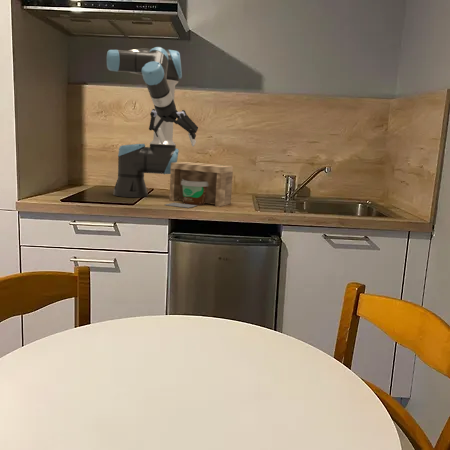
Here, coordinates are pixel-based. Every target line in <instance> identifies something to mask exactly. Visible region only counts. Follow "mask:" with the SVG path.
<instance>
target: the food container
mask: <svg viewBox="0 0 450 450" xmlns="http://www.w3.org/2000/svg"><path fill="white" fill-rule="evenodd" d="M181 185H182V186H183V200H182V201H183V203H182V204H184V203H185V204H190V205H197V206H204V205H205V204H206V203H205V197H206V190H207V186H208V181H207V182H196V181H185V180H184V179H182V182H181ZM203 204H204V205H203Z"/></svg>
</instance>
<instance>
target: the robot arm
mask: <svg viewBox="0 0 450 450" xmlns="http://www.w3.org/2000/svg"><path fill="white" fill-rule="evenodd" d="M106 69H107V70H108V71H110V72H117V73H118V72H120V73H121V72H122V73H130V74H135V75H138V76H139V75H140V76H142V79H143V81H144V83H145V86H146V88H147V91H148V93H149V95H150V98H151V101H152V104H153V106H154V108H152V110H151V111H150V112H149V114H150V122H149V127H148V130H149V131H153V138H152V140H151V141H150V143H149V146H146V145H145V143H134V144H133V143H132V144H125V145H124V144H122V145H120V146H119V148H118V153H117V157H118V158H117V159H118V161H117V166H118V167H117V180H116V182H115V185H114V188H113V196H116V197H122V198H145V197H148V189H147V184H146V181H145V174H155V175H156V174H159V175H160V174H161V175H170V174H171V163H175V162H178V158H179V152H180V150H179V148H177V145H176V143H175V142H174V141H173V138H174V124H175V125H178V126H180V127H181V128H182V129H184V131H186V132H187V133H188V134H187V135H188V138H189V140H190V141H189V142H190V143H191V146H192V147H195V146H196V145H195V144H197V140H196V137H197V135H196V134H197V132H198V129H199V127H198V125H196V123H195V122H194V121H193V120H192V118H190V116H188V114H187V113H186V111H185V109H183V110H181V111H178V110H177V107H176V103H175V93H176V91H175V90H176V89H175V88H176V85H177V84H179V79H182V78H183V73H182V71H183V70H182V61H181V53H180V52H179V50H173V49H165V48H163V47H161V46H155V47H153V48H147V47H145V48H142V47H141V48H135V49H129V50H125V49H124V50H122V49H108V51H107V53H106Z"/></svg>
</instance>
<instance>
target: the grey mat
mask: <svg viewBox="0 0 450 450" xmlns="http://www.w3.org/2000/svg"><path fill="white" fill-rule="evenodd" d="M164 206H166V207H167V206H168V207H176V208H183V209H191V208H195V206H196V207H198V205H190V204H184V203H181V202H170V203H166V204H164Z"/></svg>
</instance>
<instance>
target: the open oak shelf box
mask: <svg viewBox="0 0 450 450" xmlns="http://www.w3.org/2000/svg"><path fill="white" fill-rule="evenodd" d="M233 173H234V166H233V165H225V164H223V165H222V164H215V163H214V164H213V163H212V164H211V163H202V162H189V161H177V162H175V163H171V174H169V177H170V180H169V201H170V202H171V201H172V202H174V201H175V202H176V201H183V186H182V185H181V182H182V179H184V180H185V181H196V182H207V181H208V186H207V190H206V197H205V204H209V203H210V204H211V205H214V206H215V207H219V208H220V207H223V206H226V205H230V204H232V191H233Z"/></svg>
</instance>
